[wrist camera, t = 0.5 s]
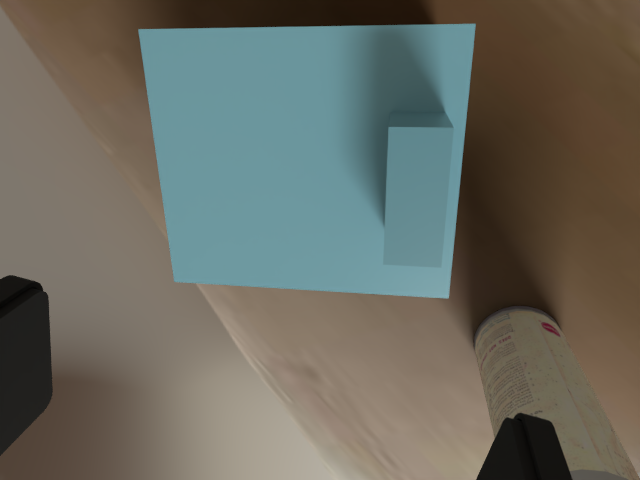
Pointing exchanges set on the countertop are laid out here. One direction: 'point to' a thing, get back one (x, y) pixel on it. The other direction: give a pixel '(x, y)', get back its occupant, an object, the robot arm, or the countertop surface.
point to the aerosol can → (547, 390)
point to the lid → (311, 153)
